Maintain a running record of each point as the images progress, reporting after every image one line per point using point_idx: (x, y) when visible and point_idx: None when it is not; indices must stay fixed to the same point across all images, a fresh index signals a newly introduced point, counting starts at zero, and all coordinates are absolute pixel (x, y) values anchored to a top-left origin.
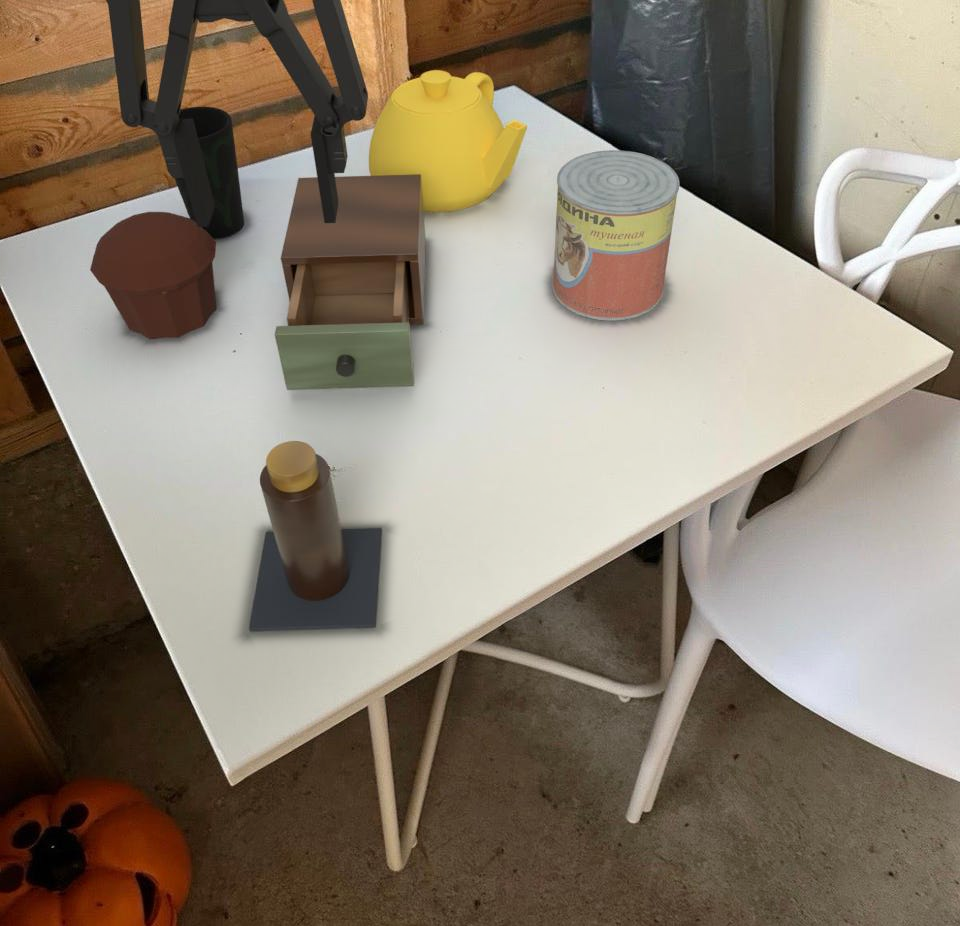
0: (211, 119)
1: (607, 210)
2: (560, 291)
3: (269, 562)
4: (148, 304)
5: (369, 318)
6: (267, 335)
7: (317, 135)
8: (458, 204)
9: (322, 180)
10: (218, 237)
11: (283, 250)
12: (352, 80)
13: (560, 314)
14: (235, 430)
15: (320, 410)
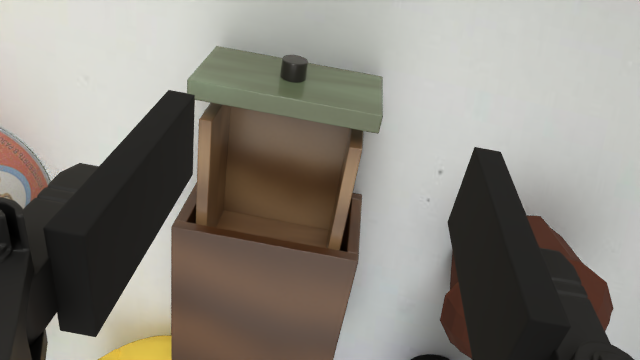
0: None
1: None
2: (33, 173)
3: None
4: (542, 244)
5: (264, 175)
6: (396, 190)
7: (62, 227)
8: (157, 338)
9: (139, 146)
10: (433, 355)
11: (353, 274)
12: None
13: (40, 145)
14: (459, 24)
15: (343, 38)
